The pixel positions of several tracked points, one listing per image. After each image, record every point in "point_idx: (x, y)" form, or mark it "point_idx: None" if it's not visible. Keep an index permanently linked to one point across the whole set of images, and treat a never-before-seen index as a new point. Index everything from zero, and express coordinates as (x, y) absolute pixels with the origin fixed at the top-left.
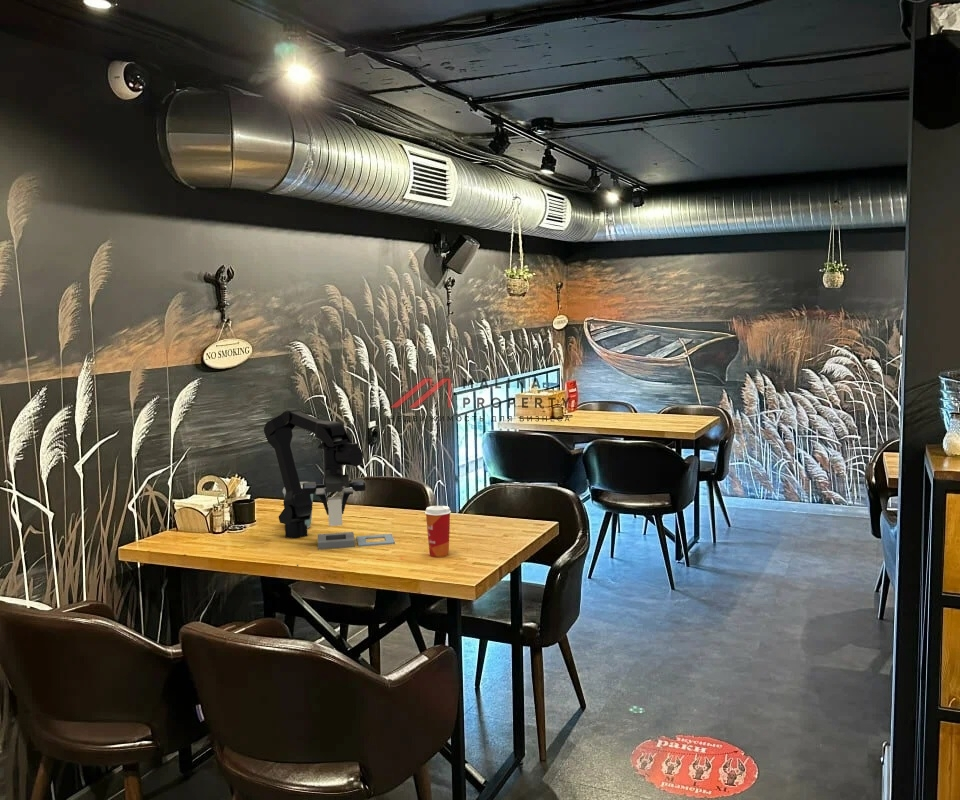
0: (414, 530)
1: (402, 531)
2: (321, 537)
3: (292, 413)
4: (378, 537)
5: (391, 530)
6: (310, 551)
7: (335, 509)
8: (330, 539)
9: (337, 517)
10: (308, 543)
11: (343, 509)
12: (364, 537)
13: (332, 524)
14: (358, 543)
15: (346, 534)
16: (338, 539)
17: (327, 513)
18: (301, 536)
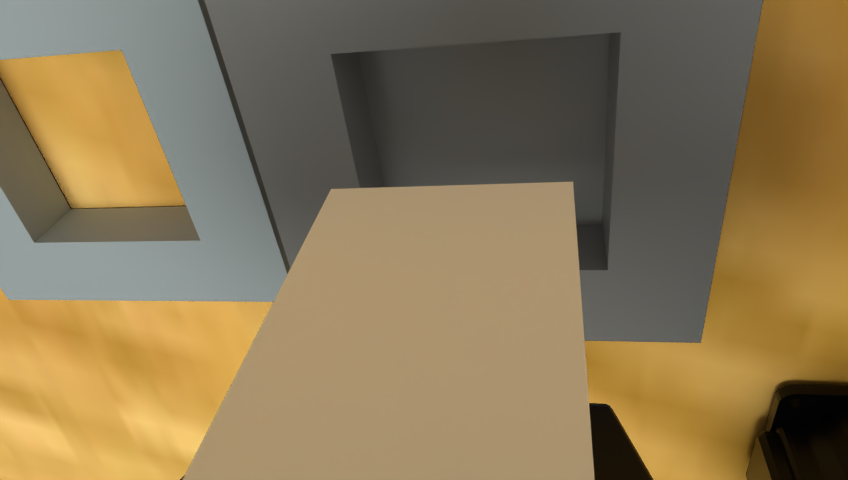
0: (5, 432)
1: (71, 433)
2: (672, 202)
3: None
4: (89, 238)
5: (151, 467)
6: (807, 42)
7: (375, 445)
8: None
9: (378, 284)
10: (761, 341)
11: None
12: (209, 247)
13: (504, 200)
14: (197, 11)
15: None
16: (435, 40)
17: (607, 430)
18: (828, 441)
